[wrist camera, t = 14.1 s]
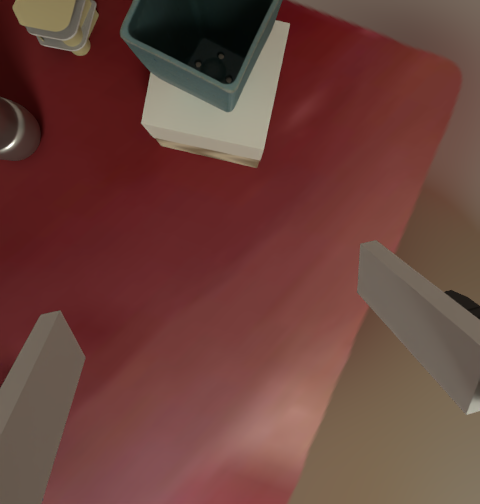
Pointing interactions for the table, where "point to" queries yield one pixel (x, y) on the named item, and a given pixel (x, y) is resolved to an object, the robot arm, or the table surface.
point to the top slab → (214, 119)
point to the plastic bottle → (17, 131)
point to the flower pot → (201, 43)
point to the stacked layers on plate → (59, 22)
